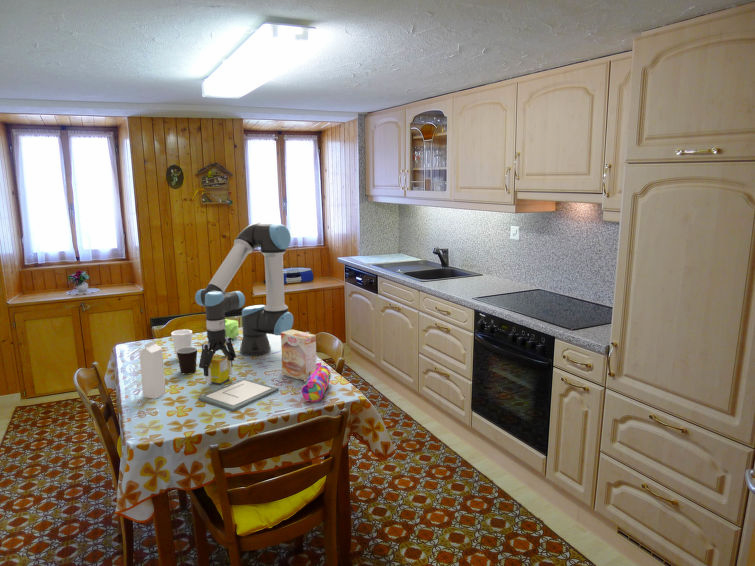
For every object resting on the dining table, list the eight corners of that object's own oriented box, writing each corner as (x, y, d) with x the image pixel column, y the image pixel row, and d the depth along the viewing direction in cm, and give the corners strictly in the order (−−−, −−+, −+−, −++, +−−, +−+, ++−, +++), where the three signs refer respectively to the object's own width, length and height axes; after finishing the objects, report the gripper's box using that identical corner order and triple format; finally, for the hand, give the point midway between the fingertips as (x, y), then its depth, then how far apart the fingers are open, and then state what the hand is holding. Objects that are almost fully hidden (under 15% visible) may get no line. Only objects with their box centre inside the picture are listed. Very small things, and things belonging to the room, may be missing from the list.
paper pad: (244, 380, 226) (244, 377, 226) (278, 390, 215) (278, 387, 215) (198, 399, 206) (198, 396, 206) (233, 411, 195) (232, 408, 195)
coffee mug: (192, 375, 232) (190, 353, 230) (174, 374, 233) (172, 352, 231) (205, 366, 243) (204, 345, 241) (188, 365, 245) (187, 344, 243)
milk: (143, 397, 208) (137, 343, 204) (153, 391, 214) (149, 339, 210) (155, 399, 207) (150, 345, 202) (166, 393, 212) (161, 340, 208)
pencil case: (309, 382, 224) (308, 362, 222) (331, 382, 224) (330, 362, 222) (300, 403, 203) (300, 381, 201) (325, 404, 202) (324, 381, 201)
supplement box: (217, 378, 228) (216, 354, 226) (229, 380, 226) (228, 356, 224) (208, 383, 223) (207, 358, 221) (220, 385, 221) (219, 360, 219)
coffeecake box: (281, 374, 233) (280, 332, 229) (293, 370, 238) (292, 328, 235) (305, 382, 224) (304, 338, 220) (317, 377, 229) (316, 334, 226)
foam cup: (168, 359, 252) (166, 333, 250) (182, 354, 261) (180, 328, 258) (184, 362, 249) (182, 335, 246) (198, 356, 257) (196, 330, 255)
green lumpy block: (212, 344, 276) (211, 323, 274) (210, 337, 289) (209, 317, 287) (241, 341, 281) (240, 321, 279) (238, 334, 294) (237, 315, 292)
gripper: (199, 336, 209) (202, 389, 213) (243, 323, 227) (245, 372, 232) (187, 333, 213) (190, 385, 217) (231, 321, 232) (233, 369, 236)
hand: (219, 378), depth 224 cm, fingers open, 10 cm apart
